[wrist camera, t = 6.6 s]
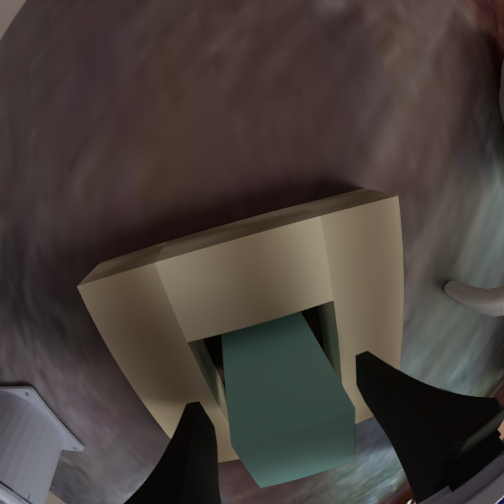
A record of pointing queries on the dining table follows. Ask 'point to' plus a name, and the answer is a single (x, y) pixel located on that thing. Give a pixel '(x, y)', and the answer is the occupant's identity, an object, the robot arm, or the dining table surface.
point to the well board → (253, 298)
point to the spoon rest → (473, 297)
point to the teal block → (285, 402)
